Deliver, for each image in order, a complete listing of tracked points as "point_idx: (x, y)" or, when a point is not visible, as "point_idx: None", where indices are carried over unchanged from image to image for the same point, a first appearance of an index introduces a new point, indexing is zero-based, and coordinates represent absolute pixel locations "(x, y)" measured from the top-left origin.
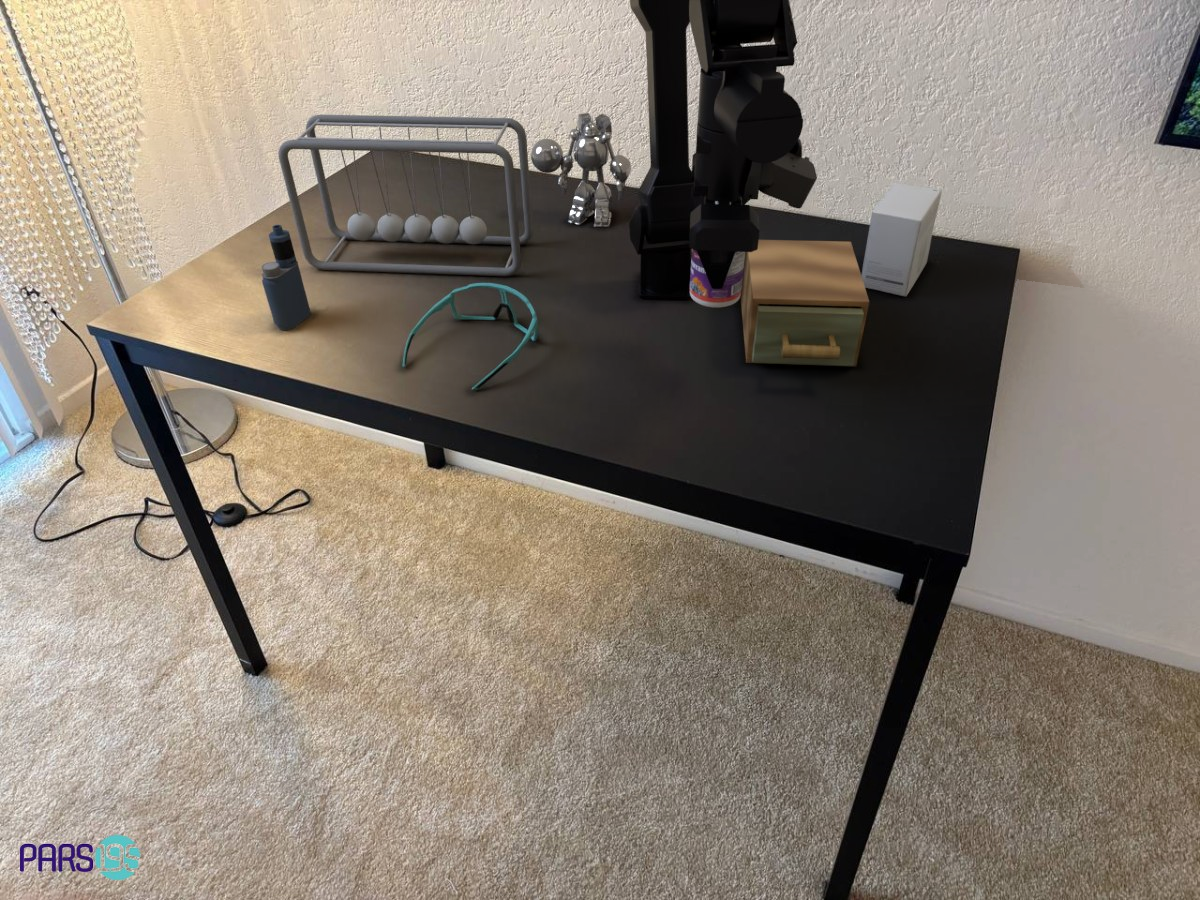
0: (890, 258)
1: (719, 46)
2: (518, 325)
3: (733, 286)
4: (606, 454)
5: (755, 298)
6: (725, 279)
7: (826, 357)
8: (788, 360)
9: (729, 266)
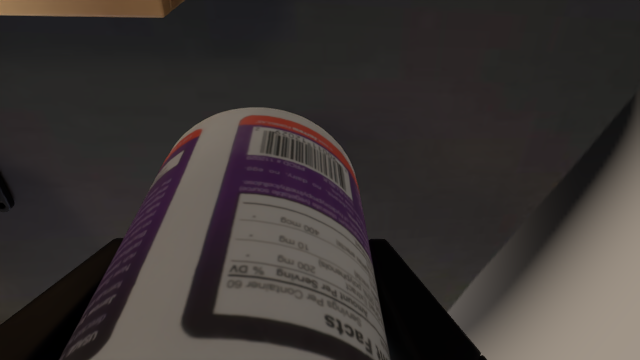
0: None
1: None
2: None
3: (346, 190)
4: (515, 224)
5: (160, 6)
6: (410, 271)
7: None
8: None
9: (473, 344)
